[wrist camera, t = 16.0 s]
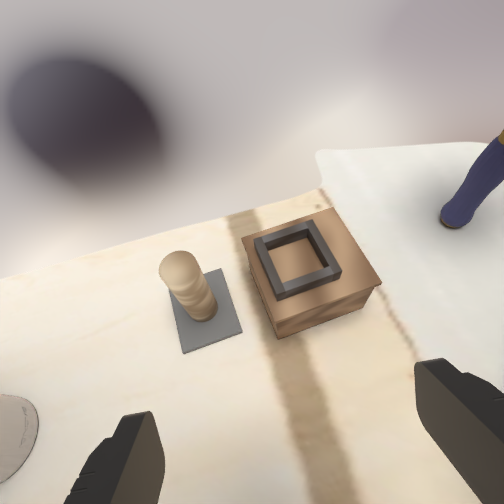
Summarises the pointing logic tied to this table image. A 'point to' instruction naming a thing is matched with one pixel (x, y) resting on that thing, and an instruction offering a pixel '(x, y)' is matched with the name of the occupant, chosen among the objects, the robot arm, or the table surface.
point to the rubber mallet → (476, 185)
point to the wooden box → (309, 271)
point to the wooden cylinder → (188, 285)
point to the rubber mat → (214, 329)
